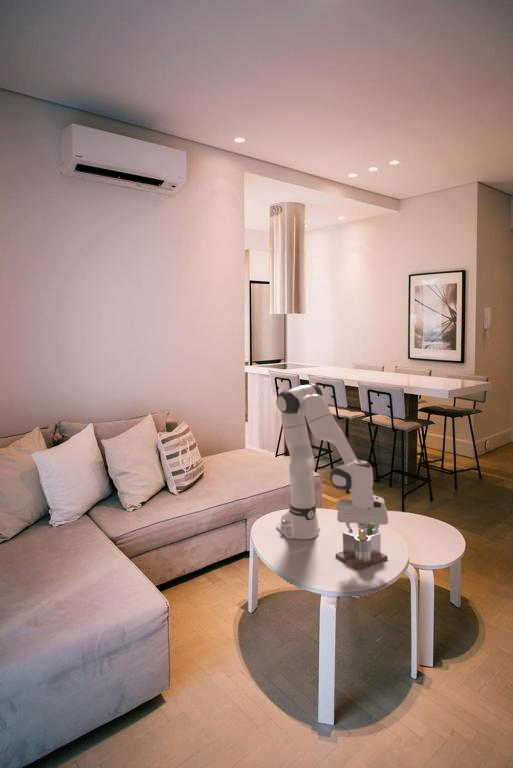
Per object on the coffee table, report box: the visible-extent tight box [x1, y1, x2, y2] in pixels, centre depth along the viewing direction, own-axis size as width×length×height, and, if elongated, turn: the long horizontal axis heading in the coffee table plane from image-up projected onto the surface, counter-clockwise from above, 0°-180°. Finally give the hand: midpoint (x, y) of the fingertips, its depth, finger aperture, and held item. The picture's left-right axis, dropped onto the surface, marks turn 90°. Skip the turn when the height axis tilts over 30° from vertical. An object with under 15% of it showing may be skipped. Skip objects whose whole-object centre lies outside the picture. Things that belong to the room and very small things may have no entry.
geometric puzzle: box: [364, 524, 380, 536], centre depth 214 cm, size 7×7×8 cm
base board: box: [335, 550, 388, 571], centre depth 195 cm, size 14×16×2 cm
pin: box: [358, 528, 366, 540], centre depth 191 cm, size 3×3×12 cm
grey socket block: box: [342, 531, 382, 563], centre depth 195 cm, size 13×13×9 cm
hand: (362, 533), depth 190 cm, fingers open, 8 cm apart
